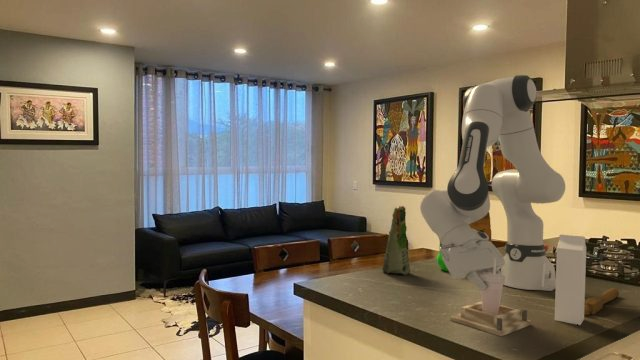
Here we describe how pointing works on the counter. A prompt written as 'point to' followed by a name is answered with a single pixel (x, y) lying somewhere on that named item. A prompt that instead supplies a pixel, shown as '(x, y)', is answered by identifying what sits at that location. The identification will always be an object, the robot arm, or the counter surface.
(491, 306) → the smoothie
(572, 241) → the milk
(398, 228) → the pouch
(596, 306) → the tap handle
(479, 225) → the coffee package
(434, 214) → the robot arm
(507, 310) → the holder
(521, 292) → the counter surface
